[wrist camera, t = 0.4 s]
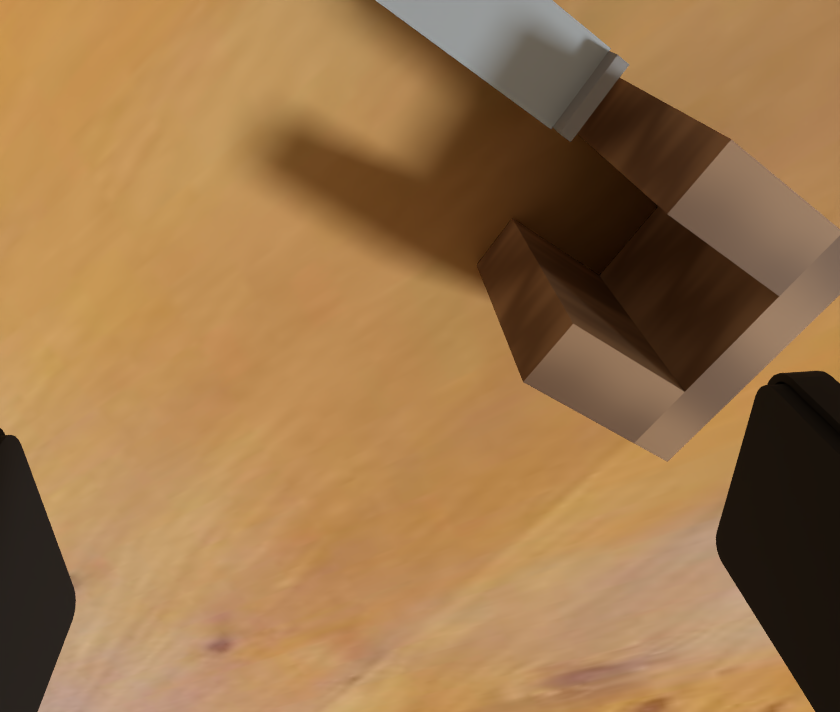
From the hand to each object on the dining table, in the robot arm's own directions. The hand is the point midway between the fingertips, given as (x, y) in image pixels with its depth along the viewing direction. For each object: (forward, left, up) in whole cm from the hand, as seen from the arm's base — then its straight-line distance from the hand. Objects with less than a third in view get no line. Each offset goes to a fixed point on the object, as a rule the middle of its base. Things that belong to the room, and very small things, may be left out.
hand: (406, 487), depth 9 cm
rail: (-5, 0, -26) cm, 27 cm away
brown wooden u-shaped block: (-1, +14, -26) cm, 30 cm away
